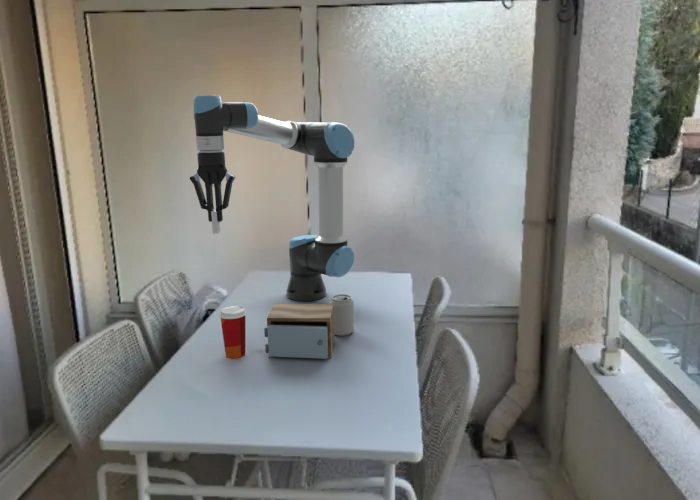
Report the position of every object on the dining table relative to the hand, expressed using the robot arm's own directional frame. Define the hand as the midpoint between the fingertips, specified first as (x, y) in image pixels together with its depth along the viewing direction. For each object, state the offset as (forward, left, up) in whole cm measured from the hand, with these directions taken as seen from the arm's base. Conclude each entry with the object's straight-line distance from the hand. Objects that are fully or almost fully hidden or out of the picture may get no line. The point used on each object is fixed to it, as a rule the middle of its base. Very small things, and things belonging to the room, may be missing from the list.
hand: (216, 232), depth 167 cm
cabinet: (+5, +25, -34) cm, 43 cm away
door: (+13, +24, -33) cm, 43 cm away
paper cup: (+10, +6, -35) cm, 37 cm away
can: (-8, +36, -35) cm, 51 cm away
